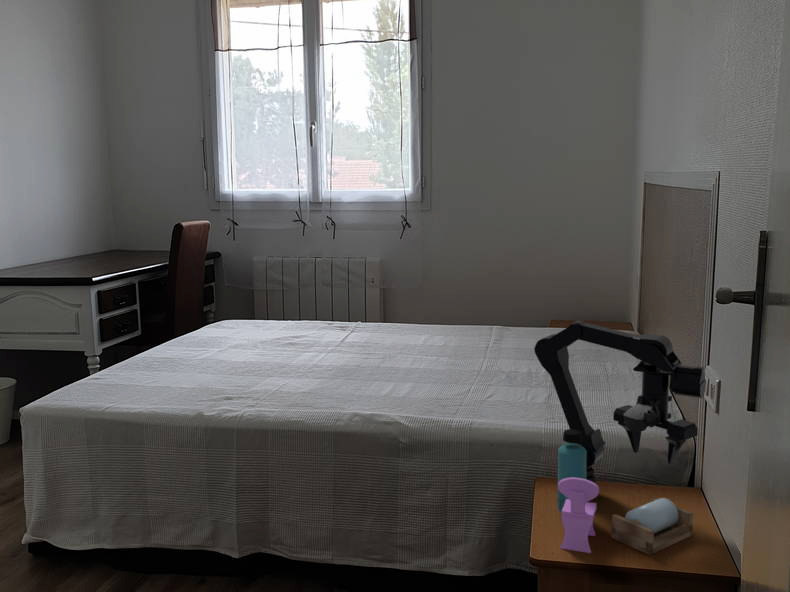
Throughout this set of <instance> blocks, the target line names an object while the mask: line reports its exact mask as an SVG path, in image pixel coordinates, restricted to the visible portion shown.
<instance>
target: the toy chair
mask: <svg viewBox="0 0 790 592" xmlns="http://www.w3.org/2000/svg"><path fill="white" fill-rule="evenodd" d="M558 489H559V491H560V492H561V493H562V494H564V495H565V496H566V497H567V498H568V499H566V501H565V504H564V507H563V509H562V513H561V516H560V517H561V523H562V525H563V528H564V538H563V540H562V542H561V544H560V547H559V548H560V549H562V550H568V551H574V552H582V553H588V554H592V550H591V547H590V542H589V536H592V537H596V532H595V529H594V528H595V527H594V524H593V523H594V518H595V513H596V512H597V505H598V504H597V502H590V501H592V500H594V499H595V498H597V497H598V495H599V493H600V487H599V486H598V484H596V482H595V483H593V482H591V481H589V480H586V479H582V478H575V477H570V478H565V479H562V480H560V481H559V483H558V482H557V490H558ZM569 499H570V500H569Z"/></svg>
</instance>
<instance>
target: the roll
mask: <svg viewBox="0 0 790 592" xmlns="http://www.w3.org/2000/svg"><path fill="white" fill-rule="evenodd" d="M656 499H657V500H655V501H653V502H652V501H651V502H648V503H645V504H643V505H640V506H638V507H636V508H633V509H630V510H628V512H626V514H625V517H624V518H626V519H628V520H632V521H635V522H637V523H639V524H640V525H642V526H645V527H647V528H649V529H652V530H654V534H655V533H657V532H660V531H662V530H664V529H666V528H668V527H671V526H673V525H675V524H676V523H677V521H678V511H677V508H676V507H677V506H676V505H675V504H674V503H673V501H671V499H669V498H666V497H661V498H656Z"/></svg>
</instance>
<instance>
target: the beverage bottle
mask: <svg viewBox="0 0 790 592" xmlns="http://www.w3.org/2000/svg"><path fill="white" fill-rule="evenodd" d="M562 435H563V437H562V441H563V442H565V443H563V444H562V445H561V446H560V447H559V448H558V450H557V452H558V458H557V460H558V461H557V462H558V464H557V465H558V467H557V484H558V483H559V481H560V480H562V479H565V478H570V477H575V478H582V479H586V478H587V477H586V472H587V471H586V454H587V451H586V449H585V448H584V447H583V446H581V445H580V444H576V443H580V442H582V435H581V432H580V431H579V430H574V429H570V428H569V429H565V430H563V433H562ZM566 499H568V498H567V497H566V496H565V495H564V494H562V493H561V492H560V491H559V489H558V488H557V510H558V512H559V513H561V514H562V509H563V507H564V504H565V501H566ZM569 500H570V499H569Z"/></svg>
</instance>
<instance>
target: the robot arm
mask: <svg viewBox="0 0 790 592" xmlns="http://www.w3.org/2000/svg"><path fill="white" fill-rule="evenodd" d="M578 340H579V341H583V342H587V343H590V344H594V345H599V346H602V347H606V348H609V349H614V350H616V351H617V350H618V351H621V352H625V353H627V354H630V355H631V356H632V357H634V358H635V359H637V360H639V363H637V365H636V366H635V367H633V369H632V370H633V371H634V372H639V373H642V375H641V376H642V378H641V395H640V394H639V395H637V399H636V400H637V401H636V404H634V405H633V406H632V405H631V404H627V405H623V406H620V407H617V408H615V409H614V410H613V415H612V417H613V421H615V422H617V424H618V426H621V427H622V428H624V430H625V432H626V433H627V436H628V439H629V442H630V445H631V448H632V452H633V453H635V454H636V453H639V449H640V444H641V437H642V432H644V431H646V430H647V428H648V427H649V428H654V427H657V428H660V429H663V430H666V434H667V435H668V436H665V440H666V441H667V443H668V444H667V445H668V446H667V462H668V463H667V464H668V465H672V464H674V461H675V460H676V458H677V456H678V454H679V452H680V450H681V449H682V448H683V445H684V444H685V442H686V441H687V440H690V439H691V438H695V437H697V436H698V435H699V434H698V433H699V432H698V431H699V430H698V425H697V424H696V422H692V421H689V420H685V419H679V420H676V421H670V420H669V419H671V418H672V413H670V412H669V402H672V401H673V396H671V395H670V394H669V393H670V392H669V389H670V390H671V392H672V393H674V395H676V396H682V397H688V398H694V399H695V398H697V399H703V398H704V397H705V394H706V388H707V379H706V375H705V367H704V366H700V365H699V366H697V365H696V366H689V365H682V364H683V363H682V361H681V360H680V358H679V357H678V355H677V354H676V352H675V351H674V346H673V344H672V342H671V340H670V338H669V337H667V336H665V335H661V334H647V333H645V334H642V333H641V334H639V333H638V334H636V333H635V334H634V333H629V332H625V331H621V330H617V329H612V328H609V327H605V326H601V325H597V324H592V323H588V322H586V321H583V320H577V321H574V322H572V323H570V324H569V326H567V327H566V328H565V329H562V330H561V331H559V332H557V333H555V334H552V333H551V334H549V335H547V336H545V337H542V338H540V339H539V340H537V341H536V343H535V346H534V347H533V348H534V354H535V356H536V358H537V360H538V361H539V363H540V365H541V366H542V368H543V369H544V370H545V371H546V372H547V373H548V374H549V375H550V378H551V381H552V384H553V386H554V390H555V392H556V395H557V397H558V401H559V402H560V403H559V404H560V406H561V409H562V411H563V415H564V416H565V419H566V422H567V425H568V428H569V429H574V430H579V431H580V432H581V435H582V442H580V443H576V444H580V445H581V446H583V447H584V448H585V449H586V451H587V454H586V471H587V472H586V477H587V478H586V480H589V481H591V482H593V483H595V484H596V476H595V469H594V468H592V466H593V465H595V464H596V463H597V461H598V460H600V459H601V458H602V457H603V456H604V453H605V445H606V444H607V443H606V442H605V441H604V439H603V437H602V431H601V429H600V428H597V429H594V428H593V427H592V426H591V425H590V423H589V421H588V418H587V415H586V413H585V410H584V407H583V404H582V402H581V399H580V396H579V394H578V391H577V388H576V385H575V383H574V379H573V377H572V375H571V372H570V367H569V363H570V362H569V361H570V359H569V357H570V356H569V350H568V347H570V346H571V345H572V344H574V343H575V342H577V341H578Z"/></svg>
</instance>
